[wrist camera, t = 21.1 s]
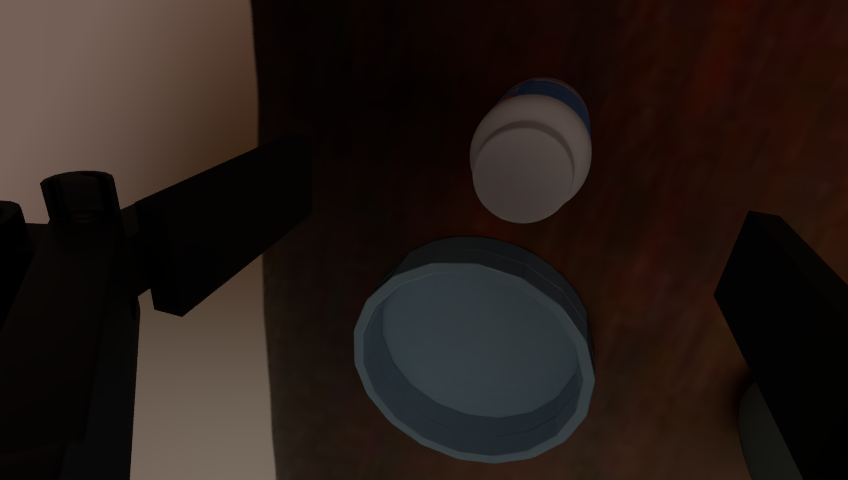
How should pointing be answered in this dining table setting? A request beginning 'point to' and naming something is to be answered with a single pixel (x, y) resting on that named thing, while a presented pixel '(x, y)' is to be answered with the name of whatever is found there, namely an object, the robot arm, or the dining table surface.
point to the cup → (763, 440)
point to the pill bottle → (532, 150)
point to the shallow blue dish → (477, 350)
